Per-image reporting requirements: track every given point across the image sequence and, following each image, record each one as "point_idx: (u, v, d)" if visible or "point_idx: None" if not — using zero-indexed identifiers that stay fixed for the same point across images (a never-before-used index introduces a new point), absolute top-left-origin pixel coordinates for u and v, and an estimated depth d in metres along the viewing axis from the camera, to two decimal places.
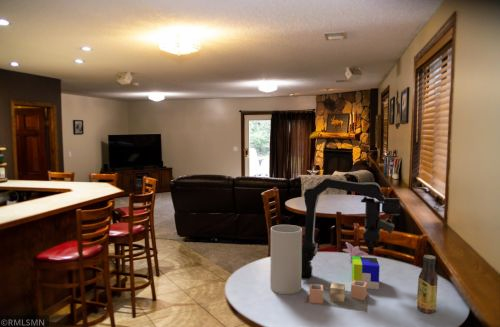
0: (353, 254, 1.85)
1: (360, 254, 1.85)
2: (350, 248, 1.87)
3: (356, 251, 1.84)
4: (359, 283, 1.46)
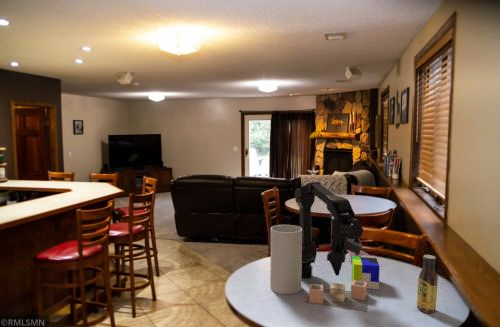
0: (353, 254, 1.85)
1: (360, 254, 1.85)
2: None
3: None
4: (359, 283, 1.46)
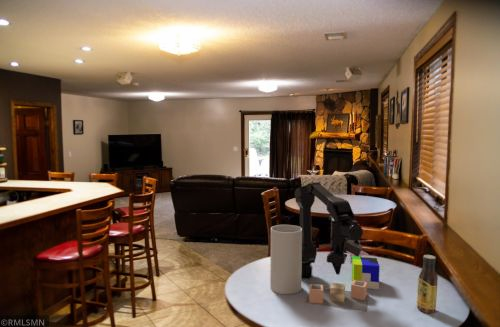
0: (353, 254, 1.85)
1: (360, 254, 1.85)
2: None
3: None
4: (359, 283, 1.46)
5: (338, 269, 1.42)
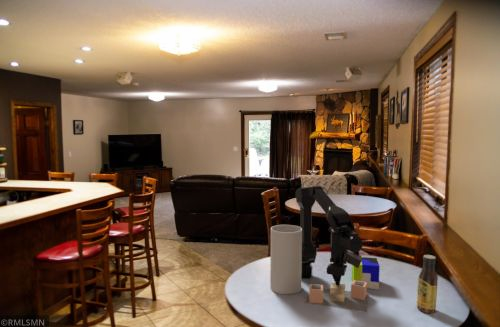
0: None
1: (360, 254, 1.85)
2: None
3: None
4: (359, 283, 1.46)
5: (338, 280, 1.42)
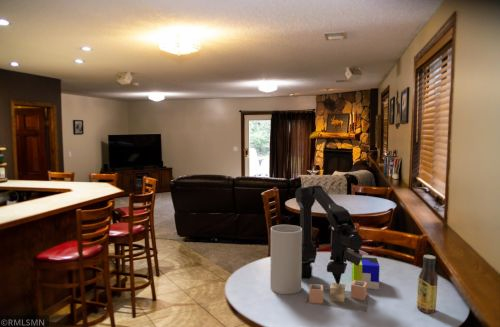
0: None
1: None
2: None
3: None
4: (359, 283, 1.46)
5: (338, 278, 1.42)
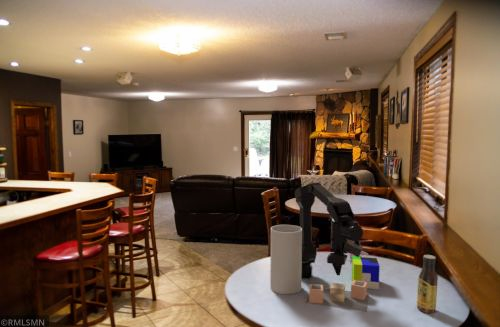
0: None
1: (360, 254, 1.86)
2: None
3: None
4: (359, 283, 1.46)
5: (338, 270, 1.42)
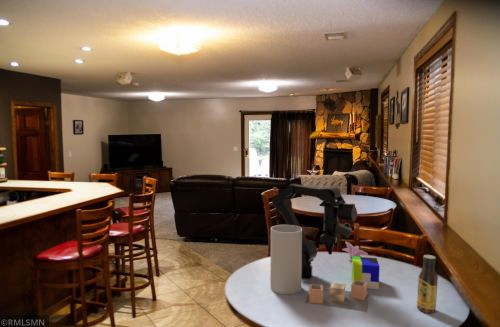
0: (353, 253, 1.86)
1: (360, 253, 1.86)
2: (350, 247, 1.87)
3: (356, 250, 1.85)
4: (359, 283, 1.46)
5: (330, 249, 1.58)
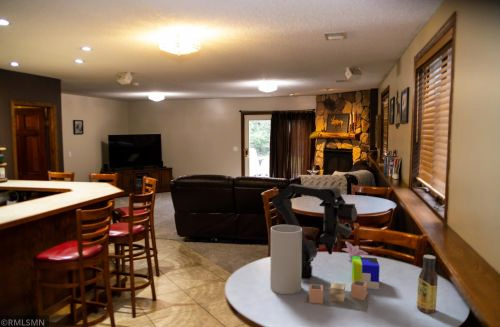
0: (353, 253, 1.86)
1: (360, 253, 1.86)
2: (350, 247, 1.88)
3: (356, 250, 1.85)
4: (359, 283, 1.46)
5: (330, 249, 1.58)
